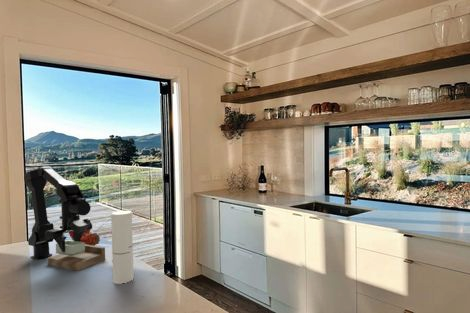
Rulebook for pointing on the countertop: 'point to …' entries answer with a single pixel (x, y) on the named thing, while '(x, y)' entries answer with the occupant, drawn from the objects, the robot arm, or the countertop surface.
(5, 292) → the countertop surface
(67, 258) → the walnut shelf
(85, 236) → the dragon fruit
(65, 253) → the sage tray
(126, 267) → the cylindrical container
